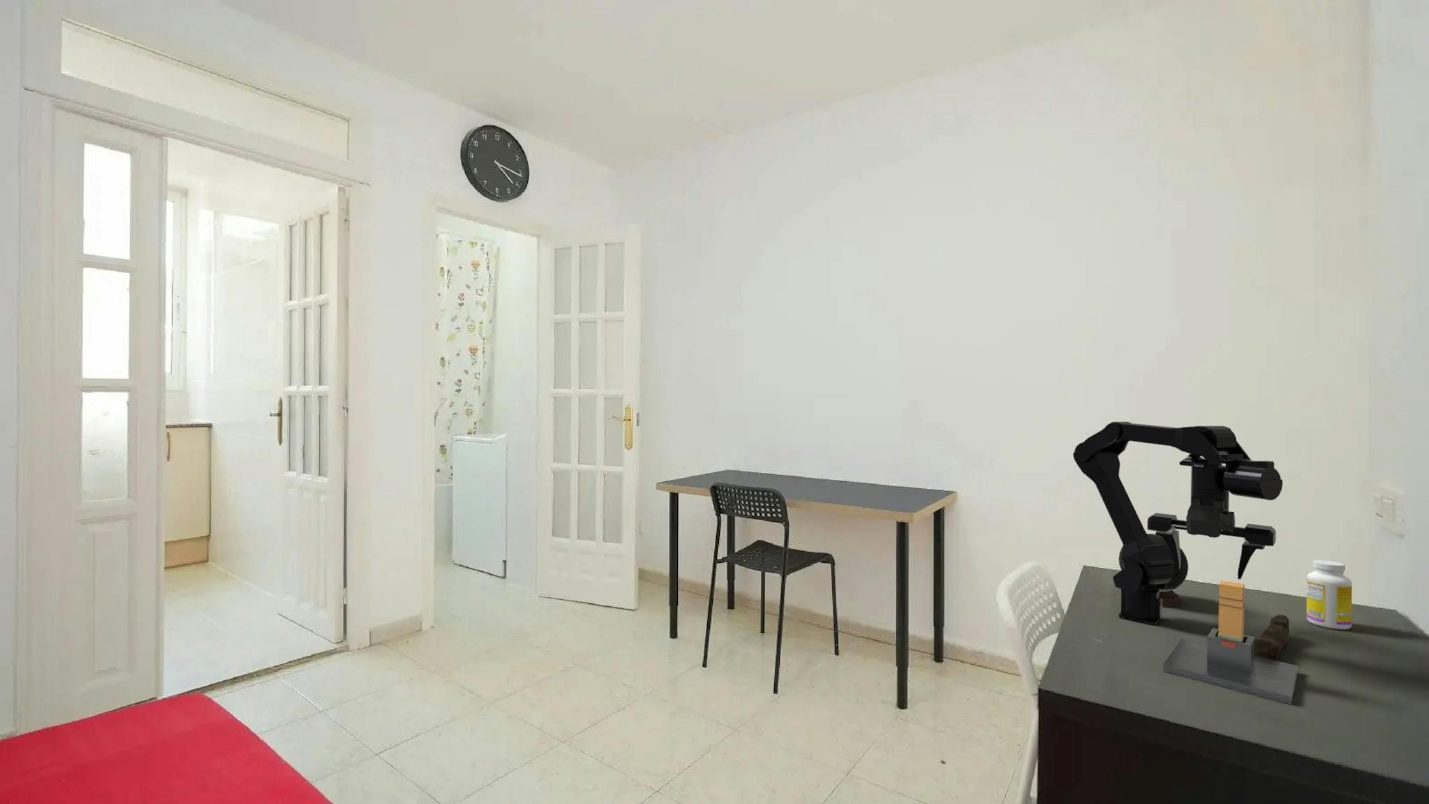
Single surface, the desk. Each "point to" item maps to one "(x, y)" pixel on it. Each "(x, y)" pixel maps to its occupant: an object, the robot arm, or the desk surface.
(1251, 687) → the jack stand base
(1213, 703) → the desk surface
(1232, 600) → the column
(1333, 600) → the supplement bottle
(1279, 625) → the rusty railroad spike
